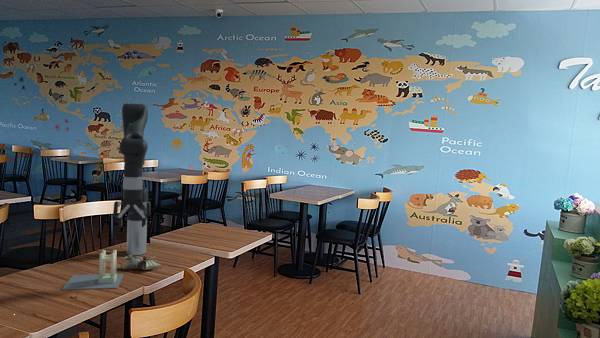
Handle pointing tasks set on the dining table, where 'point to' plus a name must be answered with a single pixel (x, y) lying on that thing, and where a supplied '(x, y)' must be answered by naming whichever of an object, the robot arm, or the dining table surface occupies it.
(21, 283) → the dining table surface
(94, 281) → the mat
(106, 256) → the stool
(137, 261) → the figurine
